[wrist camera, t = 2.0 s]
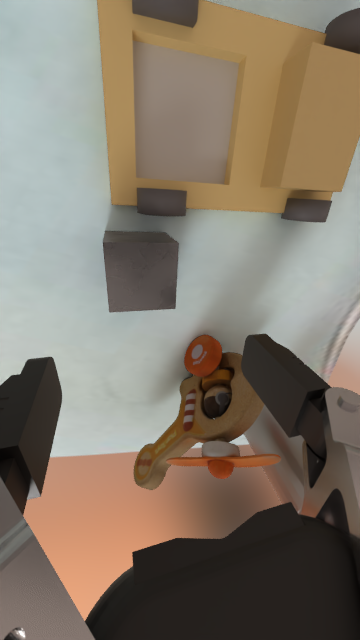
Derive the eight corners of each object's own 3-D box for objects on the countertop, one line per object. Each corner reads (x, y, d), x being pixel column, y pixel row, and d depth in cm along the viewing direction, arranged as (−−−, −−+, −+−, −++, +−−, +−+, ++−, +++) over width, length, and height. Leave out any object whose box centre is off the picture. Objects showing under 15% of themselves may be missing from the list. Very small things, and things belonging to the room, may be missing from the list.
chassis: (363, 48, 20) (424, 14, 16) (313, 218, 26) (348, 223, 22) (95, -23, 15) (89, -100, 11) (112, 210, 21) (112, 214, 17)
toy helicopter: (250, 348, 32) (327, 437, 21) (157, 443, 37) (178, 559, 25) (209, 319, 29) (276, 409, 17) (112, 429, 33) (112, 558, 22)
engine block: (165, 232, 23) (178, 243, 18) (163, 286, 25) (175, 308, 21) (105, 230, 21) (102, 242, 17) (110, 288, 24) (109, 312, 19)
